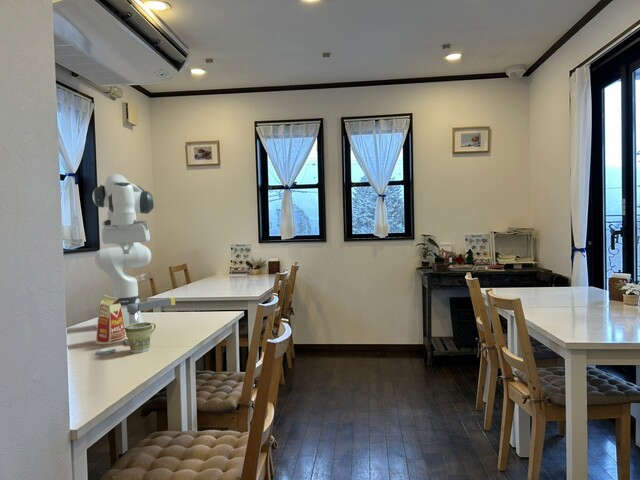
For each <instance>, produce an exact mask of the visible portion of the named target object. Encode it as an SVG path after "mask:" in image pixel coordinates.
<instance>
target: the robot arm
mask: <svg viewBox="0 0 640 480" xmlns="http://www.w3.org/2000/svg"><path fill="white" fill-rule="evenodd" d="M91 197H92V201H93V203H94V205H95V206H96V207H98V208H108V211H107V218H106V219H105V220H103V221H102V226H103V228H102V230H101V239H102V242H103V244H104V245H108V244H111V245H113V244H115V245H116V246H113V247H112V246H110V247H109V246H108V247H105V248H100V249H98V250H97V251H96V252H95V255H94V262H95V263H94V264H95V265H96V267H97V268H99V269H100V270H101V271H103V272H104V273H106V274H107V276H108V277H109V279H110V281H111V282H112V288H113V295H114V298H119V299H118V301H119V302H120V304H121V309H122V313H123V319H124V324H125V326H127V325H129V313H128V312H127V305H128V304H134V303H140V302H141V299H140V294H139V288H138V287H139V286H138V280H137V278H136V277H134V276H132V275H130V274H127V273H125V272H124V269H134V268H140V267H144V266H147V265H149V264H150V262H151V260H152V252H151V250H150V248H149V247H147V246H146V245H144V244H142V243H148V242H150V240H151V235H150V230H149V223H148V221H146V220H145V219H139V220H138V219H137V214H146V215H147V214H149V213H150V212H152V211H153V209H154V207H155V200H154V196H153V194H152V193H150V192H149V191H148V190H144V188H143V187H141V186H139V185H137V184H135V183H132V182H130V181H129V180H128V179H127V178H126V177H125V176H124V175H122V174H119V173H112V174H110V175H108V176H107V177H106V179H105V182H104V185H103V184H100V185H99V186H96V187H95V188H94V189H93V191H92V196H91ZM141 312H142V311H138V322H139V323H143V322H145V321H144V318H143V316H142V313H141ZM95 328H96V329H97V324H95Z"/></svg>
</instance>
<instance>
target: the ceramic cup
mask: <svg viewBox="0 0 640 480" xmlns="http://www.w3.org/2000/svg"><path fill="white" fill-rule="evenodd" d="M153 325H154V327H153ZM155 330H156V323H155V322H148V321H147V322H145V321H144V322H143V323H134V324H130V325H127V326H125V332H126V339H128V342H129V346H128V347H129V350H130V352H131V353H133V354H139V353H140V354H141V353H145V352H148V351H149V350H150V346H151V345H150V344H151V336H152V333H154V331H155Z"/></svg>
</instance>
